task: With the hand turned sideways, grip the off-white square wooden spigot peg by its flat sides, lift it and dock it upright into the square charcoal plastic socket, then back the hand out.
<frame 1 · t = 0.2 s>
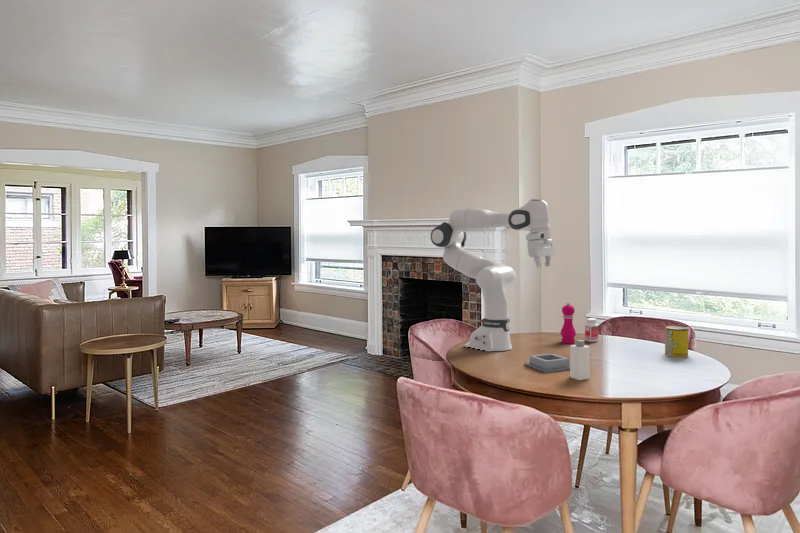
hand: (543, 266, 247), 39 cm above the table, tool pointing down, fingers open, 8 cm apart
yellow tin can: (676, 355, 244), on the table
pepper mill: (568, 342, 275), on the table
socket dock: (549, 367, 225), on the table
spigot peg: (580, 377, 208), on the table
pill bottle: (591, 341, 278), on the table
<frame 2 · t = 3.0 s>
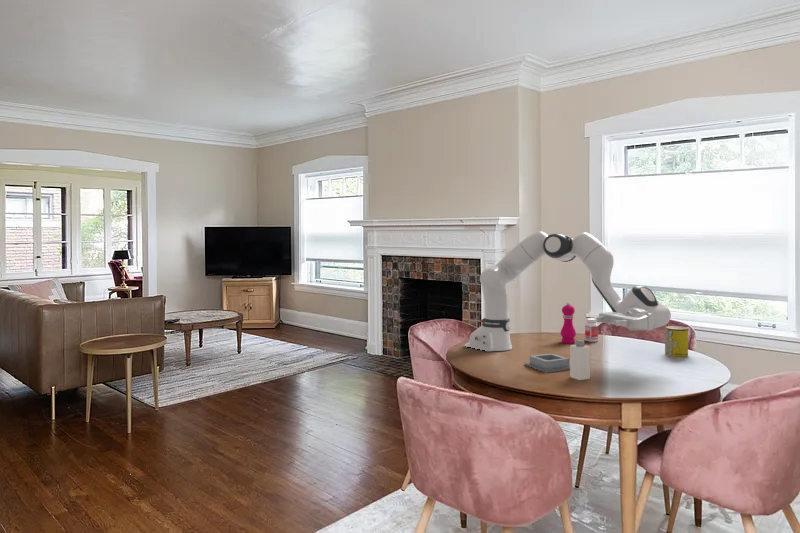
hand: (606, 321, 212), 20 cm above the table, tool horizontal, fingers open, 8 cm apart
nothing on the table moved.
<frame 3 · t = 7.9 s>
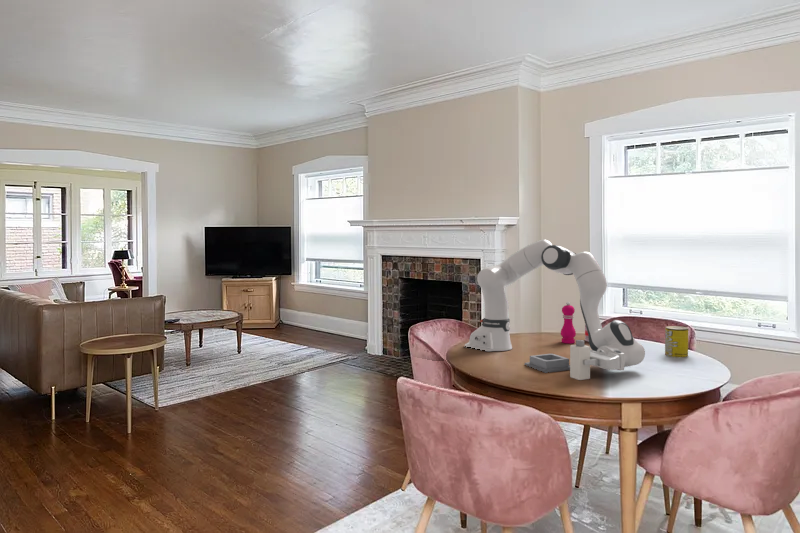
hand: (578, 360, 208), 7 cm above the table, tool horizontal, fingers closed on spigot peg, 5 cm apart
spigot peg: (580, 377, 208), on the table, touching gripper
everything else where it was.
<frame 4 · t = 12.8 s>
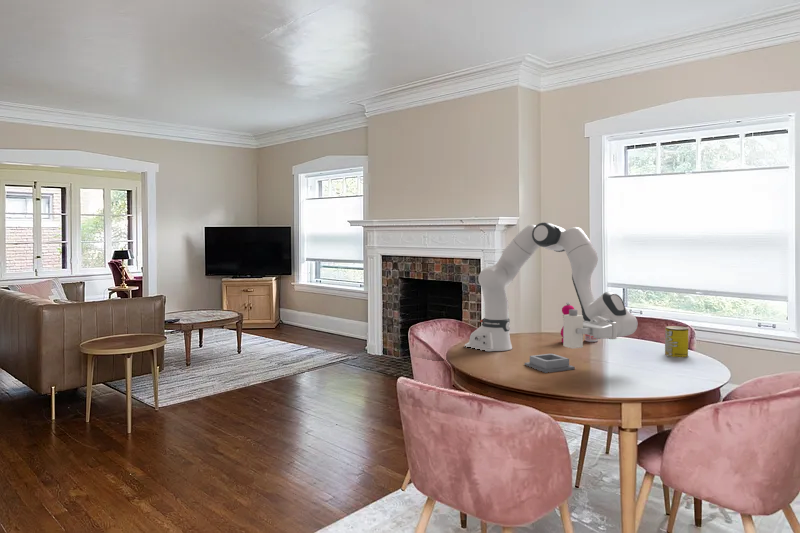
hand: (571, 329, 210), 18 cm above the table, tool horizontal, fingers closed on spigot peg, 5 cm apart
spigot peg: (572, 346, 211), point 11 cm above the table, touching gripper
everything else where it was.
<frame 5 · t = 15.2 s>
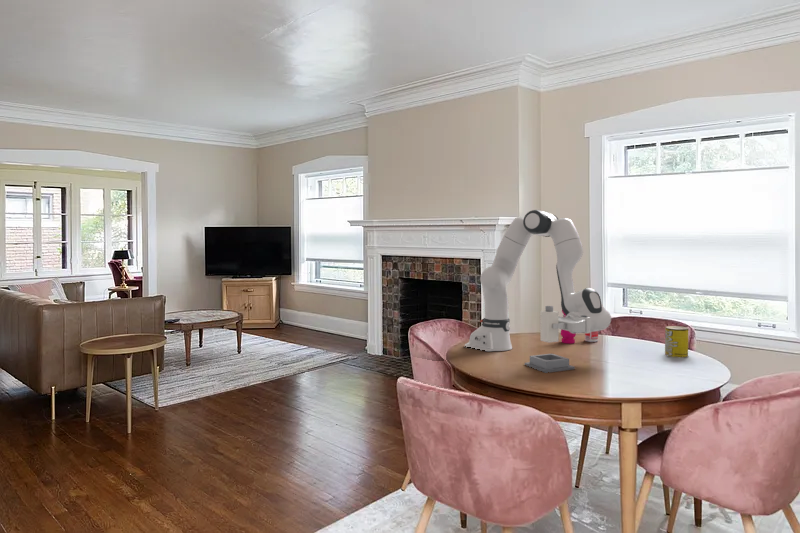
hand: (547, 325, 224), 17 cm above the table, tool horizontal, fingers closed on spigot peg, 5 cm apart
spigot peg: (549, 341, 225), point 11 cm above the table, touching gripper
everything else where it was.
when the fingers open (9 cm above the table, at t = 17.3 s): spigot peg drops 1 cm, resting on socket dock.
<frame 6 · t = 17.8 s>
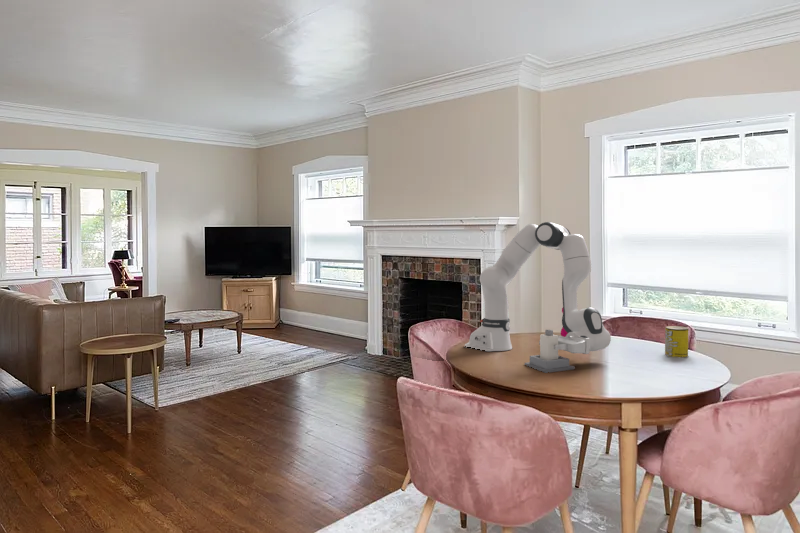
hand: (547, 345, 224), 9 cm above the table, tool horizontal, fingers open, 8 cm apart
spigot peg: (549, 364, 225), point 1 cm above the table, touching socket dock
everything else where it was.
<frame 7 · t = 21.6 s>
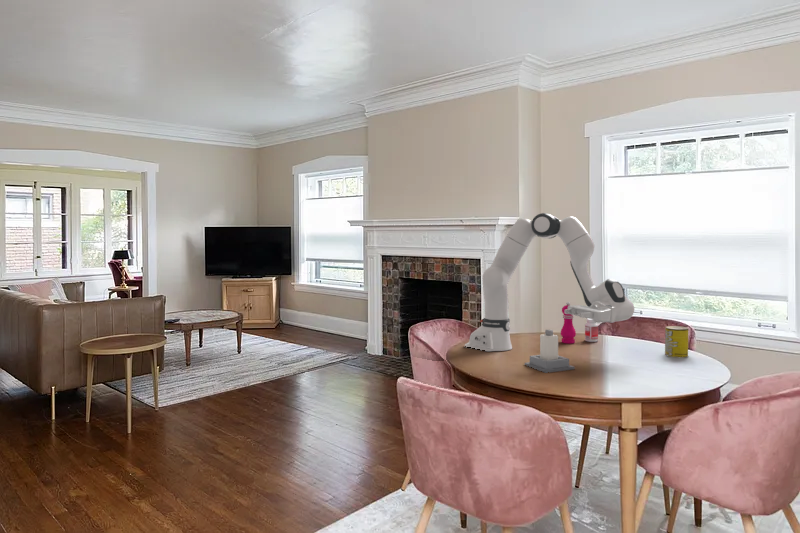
hand: (572, 313, 229), 21 cm above the table, tool horizontal, fingers open, 8 cm apart
nothing on the table moved.
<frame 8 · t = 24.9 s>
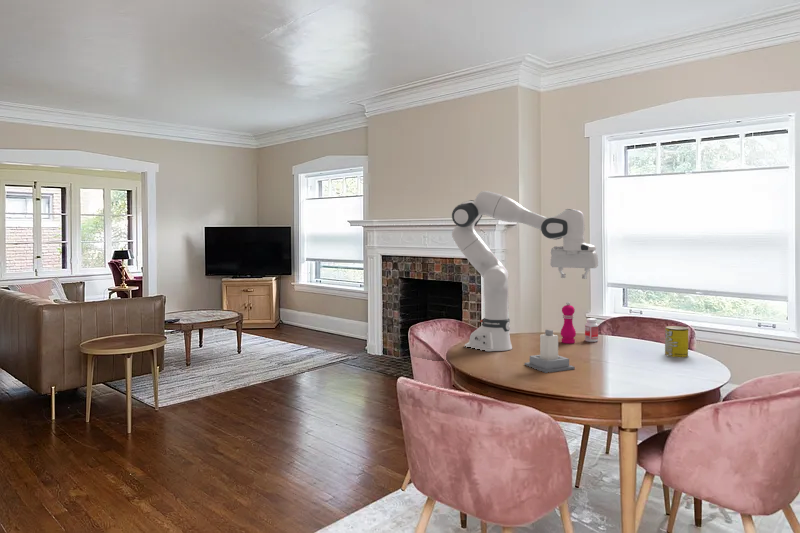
hand: (573, 278, 244), 34 cm above the table, tool pointing down, fingers open, 8 cm apart
nothing on the table moved.
at the end: spigot peg 0.0 cm off-centre on the socket dock, point 1.0 cm above the socket dock's base; spigot peg tilted 0°; the gripper is holding nothing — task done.
